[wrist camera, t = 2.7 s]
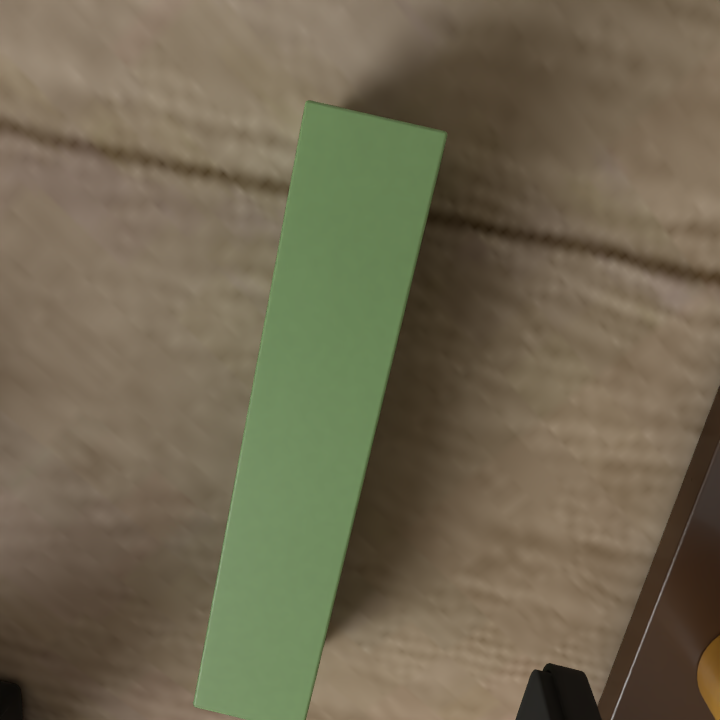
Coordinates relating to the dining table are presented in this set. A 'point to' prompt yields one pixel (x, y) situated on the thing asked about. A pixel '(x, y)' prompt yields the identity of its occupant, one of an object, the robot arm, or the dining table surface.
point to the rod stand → (677, 608)
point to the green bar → (315, 403)
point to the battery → (10, 701)
